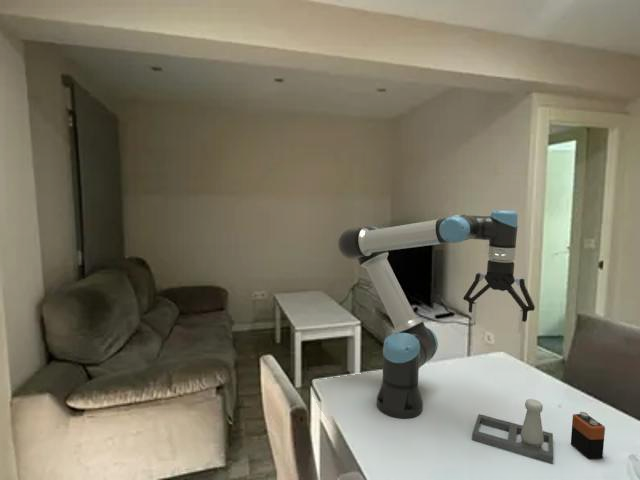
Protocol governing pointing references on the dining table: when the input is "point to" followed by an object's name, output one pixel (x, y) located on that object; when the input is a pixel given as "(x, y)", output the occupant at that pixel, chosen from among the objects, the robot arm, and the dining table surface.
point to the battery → (587, 435)
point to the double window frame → (511, 439)
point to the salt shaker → (532, 424)
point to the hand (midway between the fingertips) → (495, 326)
